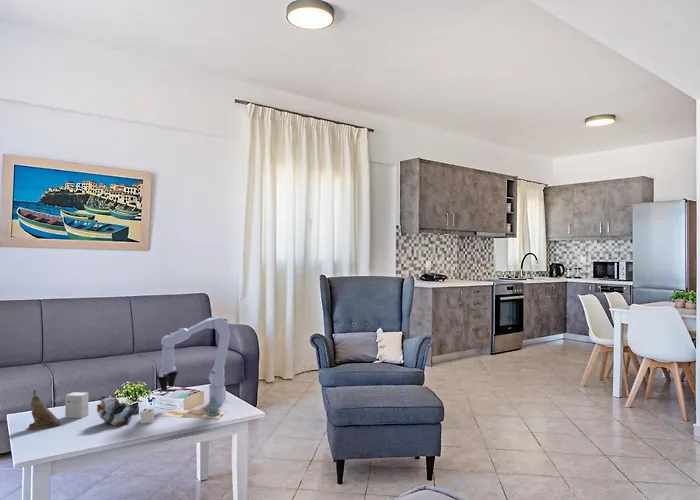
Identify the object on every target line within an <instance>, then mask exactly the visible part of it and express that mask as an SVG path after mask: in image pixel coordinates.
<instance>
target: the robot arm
mask: <svg viewBox="0 0 700 500" xmlns="http://www.w3.org/2000/svg"><path fill="white" fill-rule="evenodd" d="M205 329H210V330H212V329H214V330H215V331H216V332H217V333H218V335H219V341H218V344H217V350H216V354H215V358H214V364H213V365H214V366H212V369H211V371H210V373H209V375H208V381H209V382H210V383H209V389H208V391H209V392H208V393H209V394H208V395H209V396H208V397H209V399H208V400H209V401H210V398H211V397H212V396H216V397H217V401H218V407H219V406H220V407H221V406H223V405H224V404H225V403H227V402H228V399H226V394H227V393H226V392H227V388H226V386H225V382H226V378H225V365H226V359H227V355H228V349H229V345H230V340H231V335H232V332H231V330H230V327H229V324H228V322H227V321H226V320H225V318H223V317H220V316H218V315H214V316H212V317H209V318H206V319H204V320H202V321H200V322H198V323H197V324H194V325H193V326H190V327H189V328H185V327H183V328H182V327H181V328H180V327H179V328H178V330H176V331H175V332H174V331H173V332H170V333H169V335H168V334H166V335H164V336H163V337H162V338H161V341H160V345H161V368H160V369H159V370H158V375H157V376H156V379H157V381H158V382H159V385H160V389H161V391H163V392H165V391H167V389H168V388H170V387H171V388H172V387H174V385H175V380H176V378H177V376H178V375H179V374H178V373H179V371H177V366H175V345H178V344H180V343H182V342H185V341H187V340H188V339H190V337H191V335H194V334H196V333H198V332H200V331H202V330H205ZM209 401H208V402H207V403H206V404H205V405H206V406H209Z"/></svg>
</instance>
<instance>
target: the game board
mask: <svg viewBox="0 0 700 500" xmlns="http://www.w3.org/2000/svg"><path fill="white" fill-rule="evenodd" d="M186 409H187V410H184V411H181V410H172V409H171V410H169V411H168V412H167V413H165V414H164V415H162V417H163V418H164V417H165V418H187V419H189V418H193V419H195V418H196V419H212V420H219V419H221V418H222V416H224V415H225V414H226V413H227V412H226V411H227V410H219V409H218V411H220V414H219V415H217V416H208V415H207V412H208V411H209V409H188V408H186ZM225 412H226V413H225ZM224 413H225V414H224ZM223 414H224V415H223Z"/></svg>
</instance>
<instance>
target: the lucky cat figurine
mask: <svg viewBox="0 0 700 500" xmlns="http://www.w3.org/2000/svg"><path fill="white" fill-rule="evenodd" d="M96 412H97V413H98V416H99V418H100V419H101V420H103V422H104V423H106V424H107V423H108V424H110V425H113V426H115V427H122V426H125V425H127V424H129V423H130V422H131V420H132V417H133V414H134V412H135V408H134V407H132V406H131V404H129V403H127V402H120V401H119V399H118V398H117V397H114V395H112V394H110V395H109V396H107V397H106V396H104V395H102V396H101V398H100V402H99V404H97V405H96Z"/></svg>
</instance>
